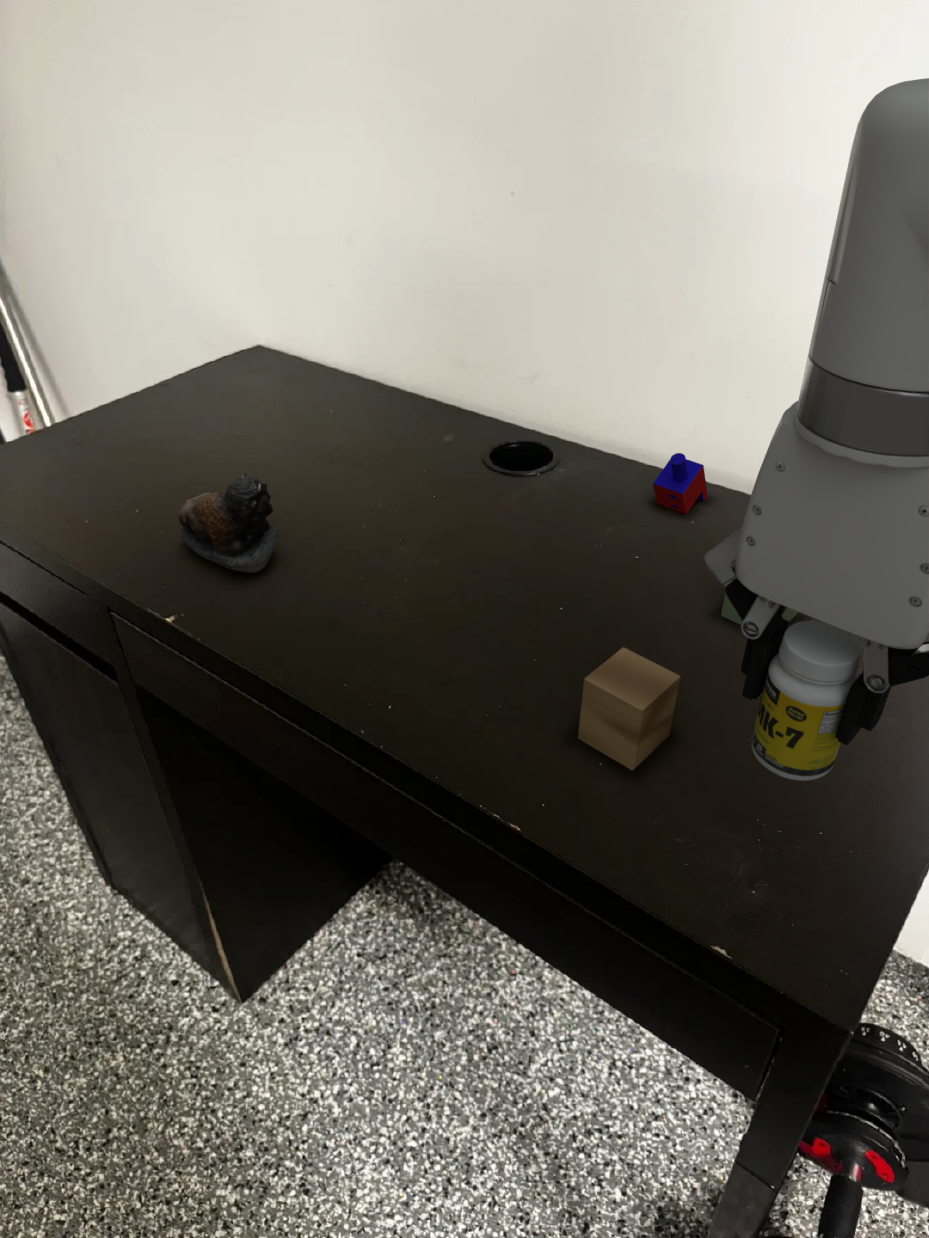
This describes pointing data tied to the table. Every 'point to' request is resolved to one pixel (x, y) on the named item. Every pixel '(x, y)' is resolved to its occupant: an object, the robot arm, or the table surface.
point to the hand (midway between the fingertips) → (805, 705)
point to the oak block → (627, 707)
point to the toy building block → (680, 484)
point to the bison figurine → (231, 525)
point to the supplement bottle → (805, 700)
